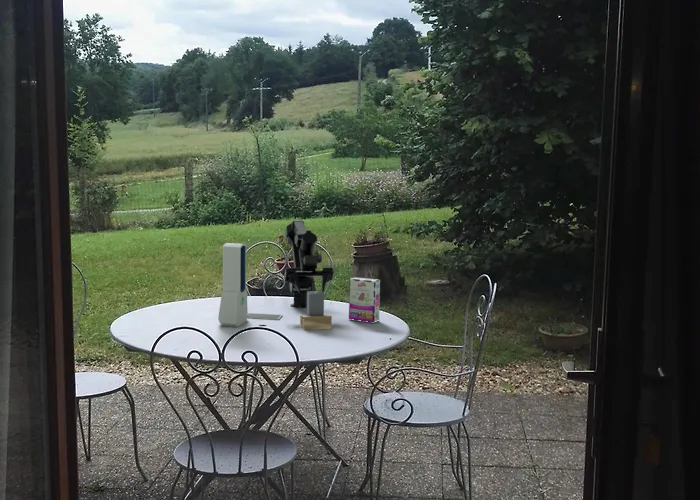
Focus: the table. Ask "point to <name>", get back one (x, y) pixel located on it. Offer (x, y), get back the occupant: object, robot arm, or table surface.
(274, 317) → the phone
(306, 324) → the tan wooden block
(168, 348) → the table surface
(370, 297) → the candy bar box
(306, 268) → the robot arm
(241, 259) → the electronic device
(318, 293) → the block
